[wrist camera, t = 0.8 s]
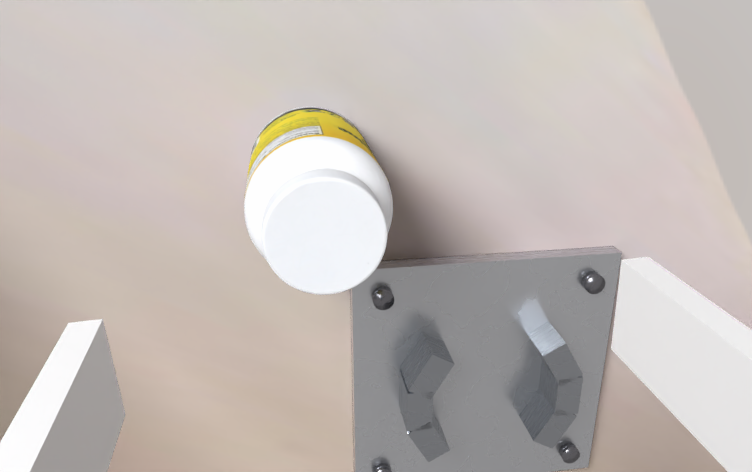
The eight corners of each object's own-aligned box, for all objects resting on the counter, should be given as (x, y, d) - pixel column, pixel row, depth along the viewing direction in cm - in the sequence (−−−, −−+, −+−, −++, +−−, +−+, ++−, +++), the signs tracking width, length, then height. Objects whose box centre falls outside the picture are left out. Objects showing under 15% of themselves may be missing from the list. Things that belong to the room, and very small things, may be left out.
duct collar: (354, 483, 42) (360, 524, 38) (349, 263, 36) (357, 290, 32) (581, 457, 44) (605, 494, 41) (613, 246, 38) (644, 270, 35)
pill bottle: (384, 190, 34) (431, 277, 24) (280, 234, 34) (283, 338, 24) (341, 84, 32) (374, 130, 22) (229, 131, 32) (209, 199, 22)
